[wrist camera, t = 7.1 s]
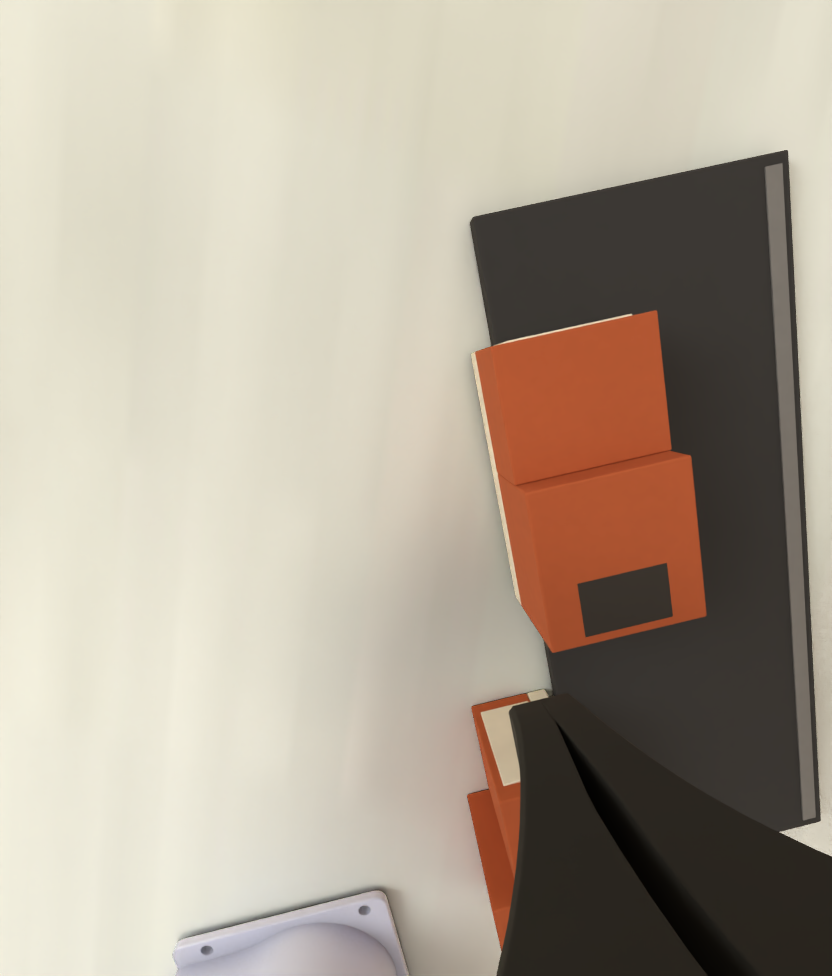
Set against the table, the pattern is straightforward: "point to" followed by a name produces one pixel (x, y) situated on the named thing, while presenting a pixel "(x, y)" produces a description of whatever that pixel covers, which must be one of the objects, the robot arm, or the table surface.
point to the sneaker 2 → (591, 481)
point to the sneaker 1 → (499, 802)
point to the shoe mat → (695, 462)
